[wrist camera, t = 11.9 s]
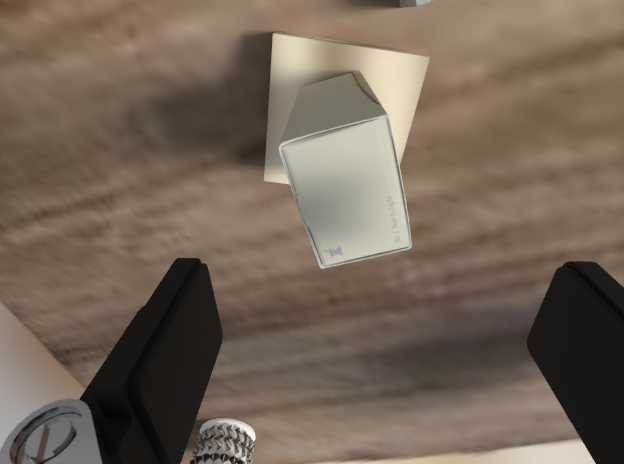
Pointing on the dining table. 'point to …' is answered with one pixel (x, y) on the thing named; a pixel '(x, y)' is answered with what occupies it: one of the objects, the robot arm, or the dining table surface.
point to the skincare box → (345, 172)
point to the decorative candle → (224, 442)
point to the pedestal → (332, 63)
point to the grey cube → (412, 3)
